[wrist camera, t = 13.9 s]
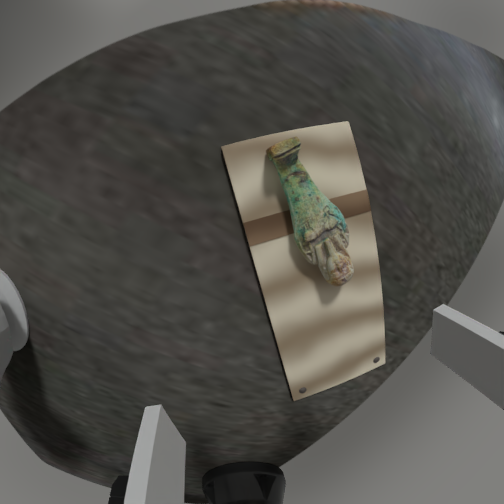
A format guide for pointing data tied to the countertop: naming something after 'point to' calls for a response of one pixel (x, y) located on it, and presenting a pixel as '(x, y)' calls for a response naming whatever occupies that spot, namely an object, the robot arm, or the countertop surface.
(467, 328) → the robot arm
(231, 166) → the board
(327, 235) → the figurine
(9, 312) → the bust with hat
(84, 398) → the countertop surface
